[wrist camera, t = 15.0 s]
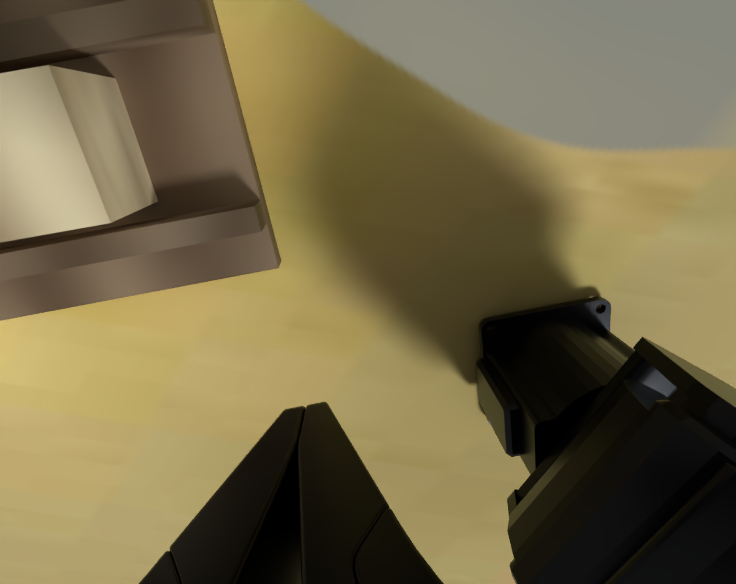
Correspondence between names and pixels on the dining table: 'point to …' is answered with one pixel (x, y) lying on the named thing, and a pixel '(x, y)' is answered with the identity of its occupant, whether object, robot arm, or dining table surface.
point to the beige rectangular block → (66, 153)
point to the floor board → (144, 155)
